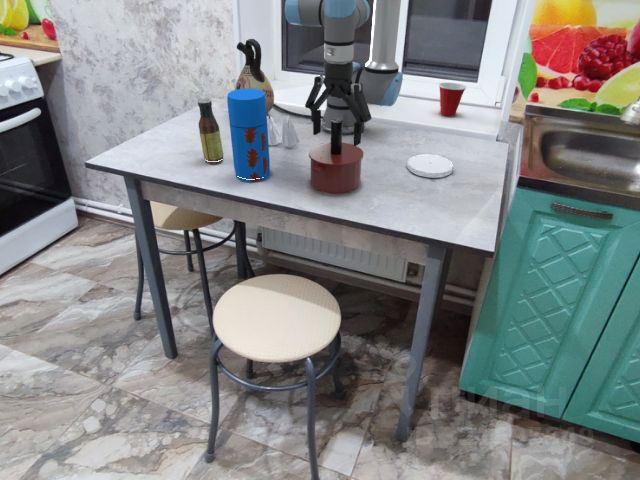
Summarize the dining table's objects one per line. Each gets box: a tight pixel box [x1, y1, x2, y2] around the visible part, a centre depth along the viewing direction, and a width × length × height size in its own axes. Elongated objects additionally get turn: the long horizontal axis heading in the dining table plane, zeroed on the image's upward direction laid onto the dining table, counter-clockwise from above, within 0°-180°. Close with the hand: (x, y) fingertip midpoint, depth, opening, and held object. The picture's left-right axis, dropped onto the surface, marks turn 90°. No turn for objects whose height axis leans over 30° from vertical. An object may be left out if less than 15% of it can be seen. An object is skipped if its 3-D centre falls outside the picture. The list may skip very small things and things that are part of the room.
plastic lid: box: [406, 153, 454, 179], centre depth 149 cm, size 14×14×2 cm
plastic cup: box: [438, 82, 467, 118], centre depth 190 cm, size 11×11×12 cm
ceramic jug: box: [234, 38, 275, 118], centre depth 181 cm, size 17×15×30 cm
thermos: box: [226, 89, 271, 184], centre depth 140 cm, size 11×11×25 cm
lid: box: [308, 119, 365, 166], centre depth 134 cm, size 16×16×11 cm
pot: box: [310, 159, 362, 195], centre depth 140 cm, size 15×20×10 cm
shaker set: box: [267, 115, 301, 149], centre depth 163 cm, size 12×4×11 cm, turn 67°
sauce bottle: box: [197, 98, 224, 165], centre depth 149 cm, size 6×6×20 cm
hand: (336, 138), depth 134 cm, fingers open, 13 cm apart
